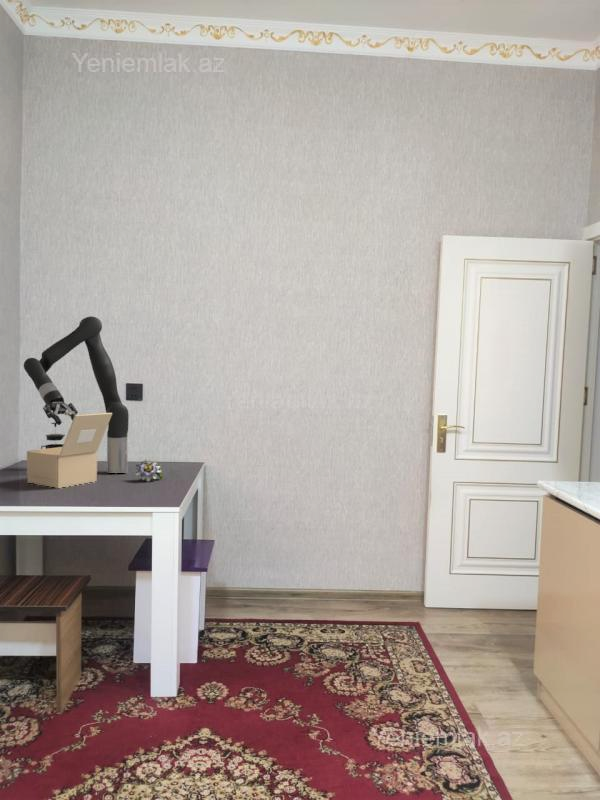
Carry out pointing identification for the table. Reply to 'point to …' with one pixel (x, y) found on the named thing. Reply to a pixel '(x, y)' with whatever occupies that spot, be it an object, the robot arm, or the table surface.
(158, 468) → the passion flower
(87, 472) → the carton
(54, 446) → the french press
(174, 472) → the table surface
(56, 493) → the table surface
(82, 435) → the carton flap
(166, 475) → the table surface
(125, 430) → the robot arm
